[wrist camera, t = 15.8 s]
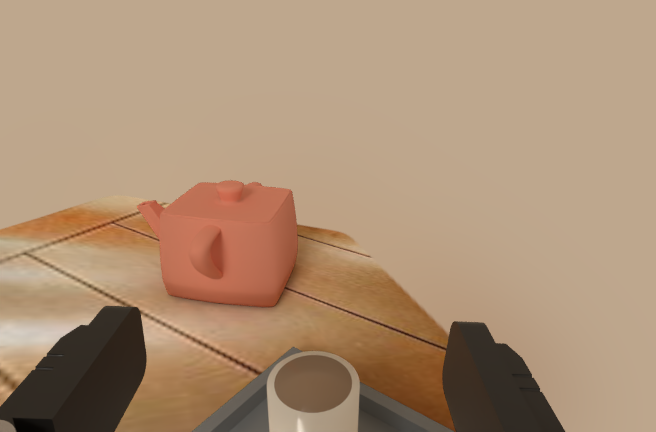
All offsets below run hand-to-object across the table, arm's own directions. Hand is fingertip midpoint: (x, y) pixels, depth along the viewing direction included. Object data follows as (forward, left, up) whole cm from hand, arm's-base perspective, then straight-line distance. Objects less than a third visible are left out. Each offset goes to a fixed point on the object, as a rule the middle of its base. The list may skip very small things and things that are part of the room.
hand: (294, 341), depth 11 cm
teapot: (-36, +27, -25) cm, 52 cm away
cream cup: (-6, +9, -24) cm, 26 cm away
